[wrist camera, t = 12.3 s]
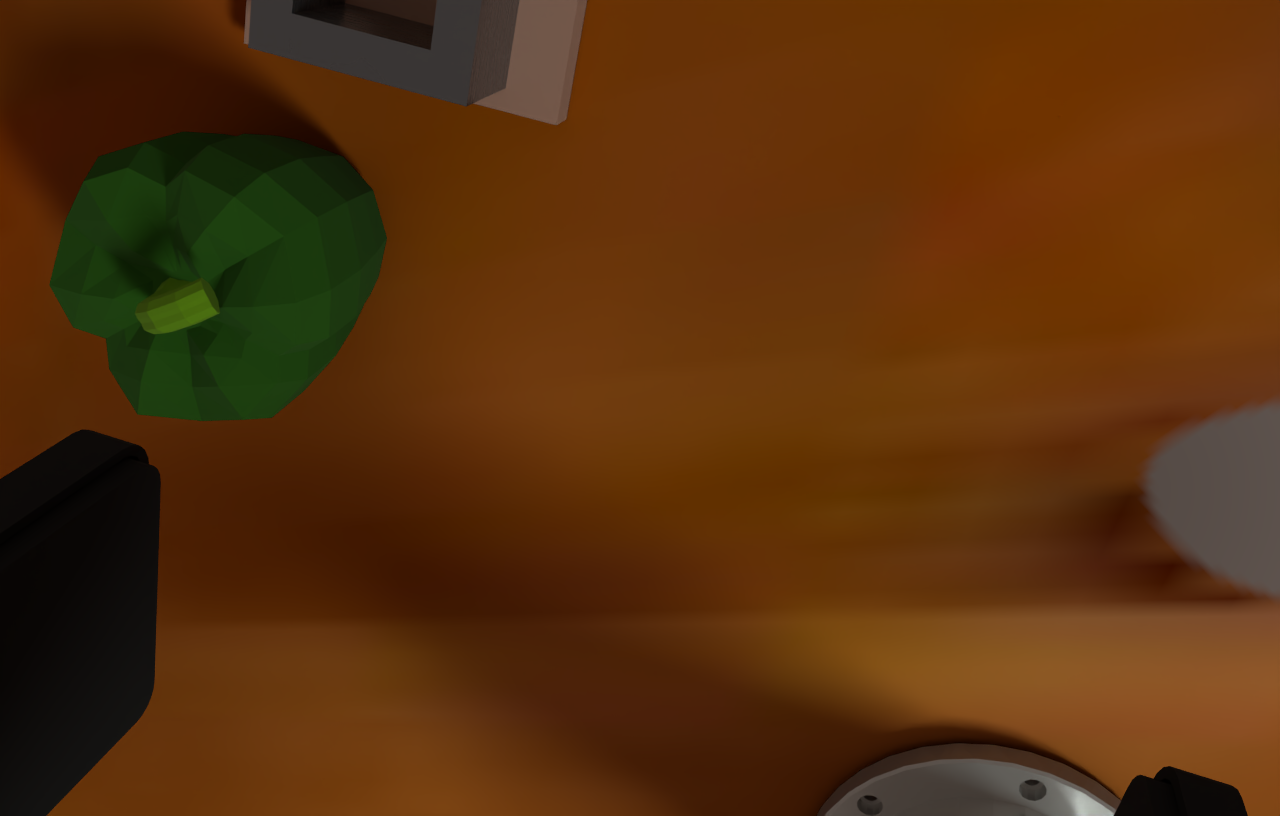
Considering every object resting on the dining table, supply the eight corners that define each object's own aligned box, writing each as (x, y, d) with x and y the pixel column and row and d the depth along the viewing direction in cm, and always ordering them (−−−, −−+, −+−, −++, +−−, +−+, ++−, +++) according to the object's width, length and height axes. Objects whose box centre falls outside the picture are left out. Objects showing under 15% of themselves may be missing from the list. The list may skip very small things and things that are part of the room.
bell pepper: (211, 340, 42) (13, 463, 33) (174, 100, 39) (-57, 165, 30) (436, 359, 40) (290, 494, 31) (417, 109, 37) (248, 181, 28)
